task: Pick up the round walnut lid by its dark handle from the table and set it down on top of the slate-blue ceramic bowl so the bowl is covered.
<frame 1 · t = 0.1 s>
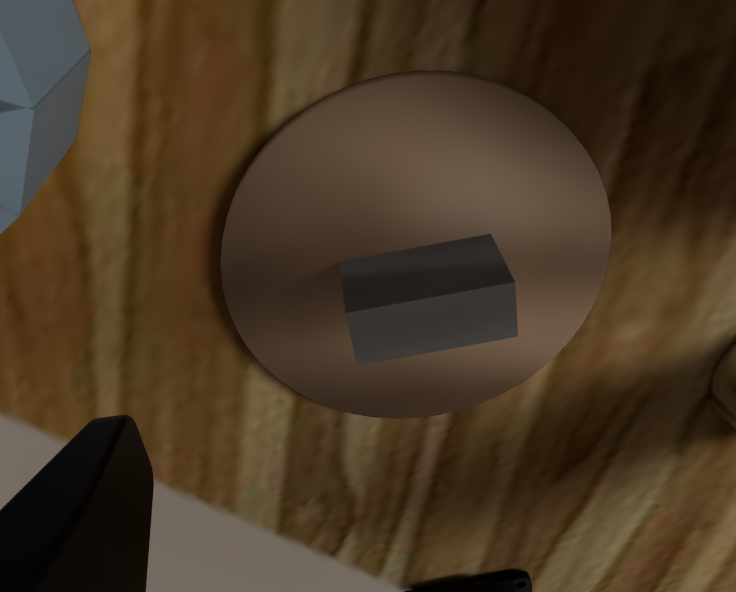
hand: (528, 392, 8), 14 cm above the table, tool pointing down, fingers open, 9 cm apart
walnut lid: (414, 258, 24), on the table
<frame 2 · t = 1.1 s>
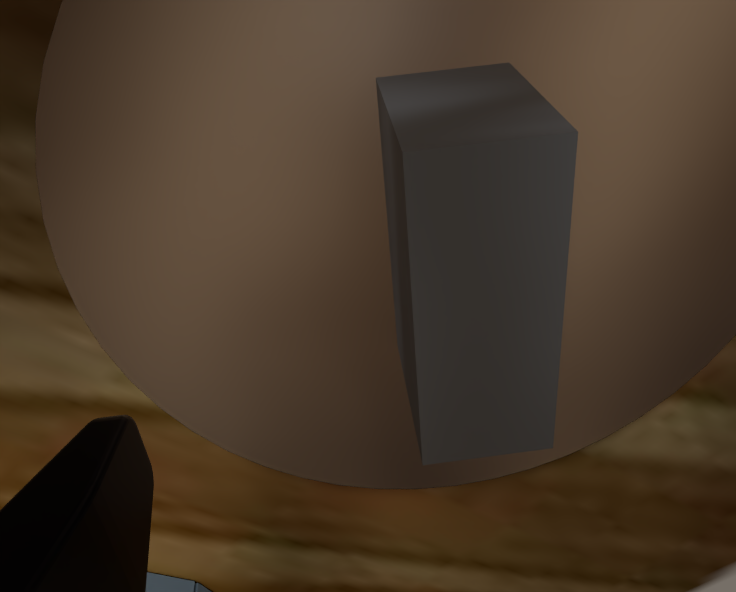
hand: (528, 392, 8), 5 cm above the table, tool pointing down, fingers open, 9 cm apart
walnut lid: (436, 195, 13), on the table
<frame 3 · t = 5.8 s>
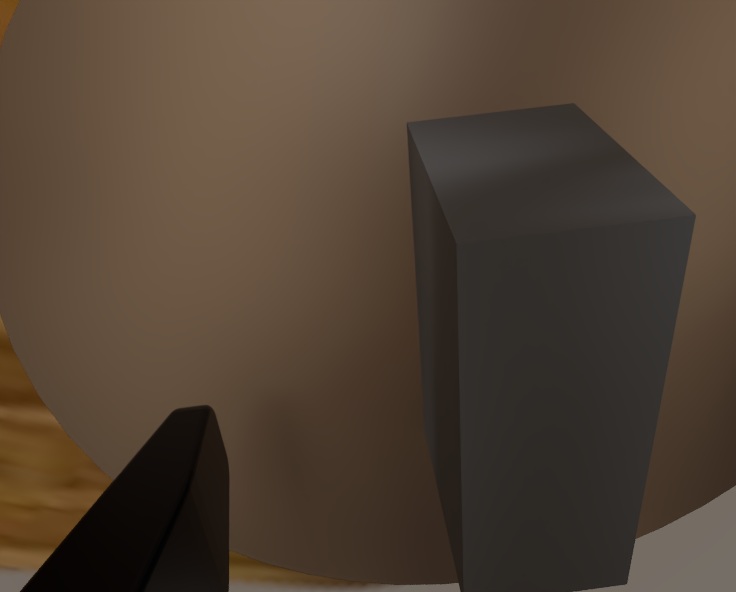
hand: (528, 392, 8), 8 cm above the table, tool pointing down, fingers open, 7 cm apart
walnut lid: (473, 254, 10), point 5 cm above the table, touching blue bowl
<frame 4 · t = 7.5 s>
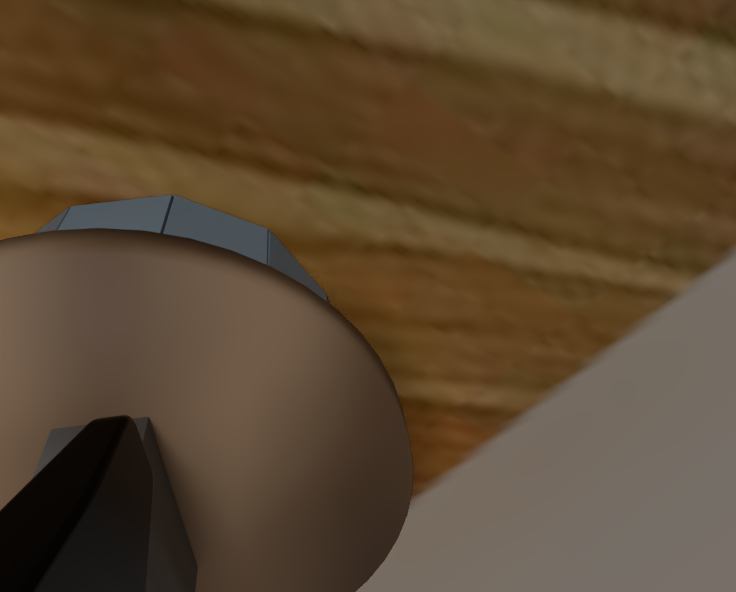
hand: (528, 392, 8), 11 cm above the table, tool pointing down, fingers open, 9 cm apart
walnut lid: (138, 471, 17), point 5 cm above the table, touching blue bowl
blue bowl: (166, 351, 21), on the table
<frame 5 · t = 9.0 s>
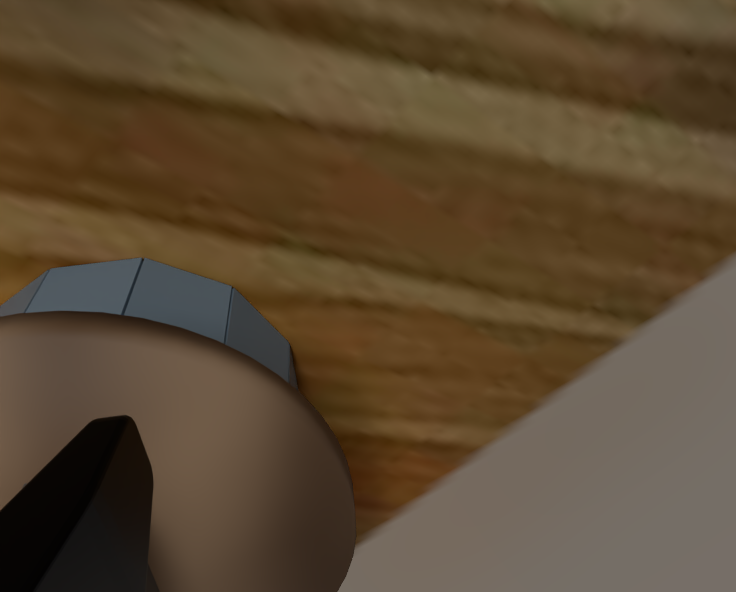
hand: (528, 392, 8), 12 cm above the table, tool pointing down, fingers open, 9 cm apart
walnut lid: (108, 515, 18), point 5 cm above the table, touching blue bowl
blue bowl: (142, 395, 23), on the table
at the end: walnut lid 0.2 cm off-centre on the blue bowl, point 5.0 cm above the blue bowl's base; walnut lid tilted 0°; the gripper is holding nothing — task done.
